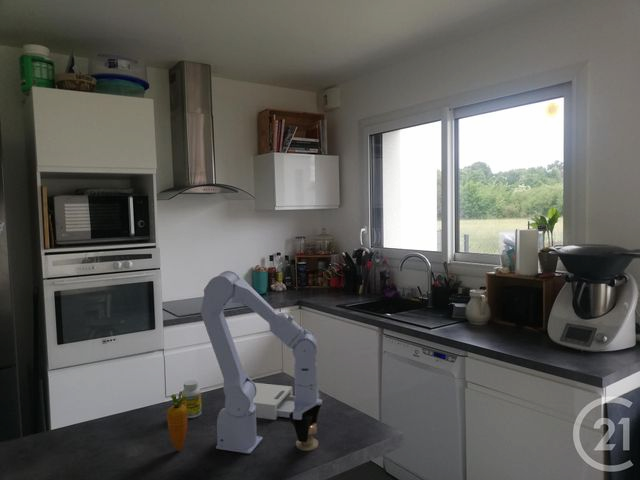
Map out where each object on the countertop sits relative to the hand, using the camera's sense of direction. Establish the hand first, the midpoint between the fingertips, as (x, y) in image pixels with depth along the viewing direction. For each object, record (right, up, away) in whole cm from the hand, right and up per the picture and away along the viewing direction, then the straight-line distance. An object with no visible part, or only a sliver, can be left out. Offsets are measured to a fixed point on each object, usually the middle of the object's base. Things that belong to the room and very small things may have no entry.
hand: (306, 434), depth 119 cm
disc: (0, +1, 0) cm, 1 cm away
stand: (0, -3, 0) cm, 3 cm away
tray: (-5, -1, +20) cm, 21 cm away
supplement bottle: (-34, -2, +19) cm, 39 cm away
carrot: (-32, -4, -2) cm, 32 cm away
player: (-14, -1, +23) cm, 27 cm away
